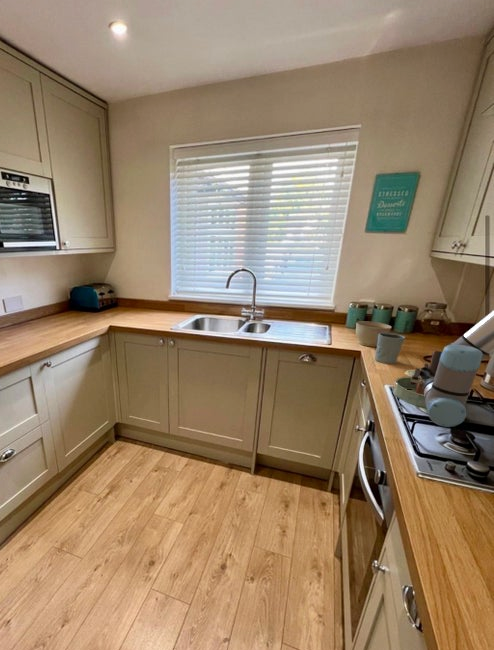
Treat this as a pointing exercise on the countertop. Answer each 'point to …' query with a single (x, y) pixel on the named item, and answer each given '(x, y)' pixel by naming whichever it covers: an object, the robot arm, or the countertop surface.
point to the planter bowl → (370, 332)
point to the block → (419, 389)
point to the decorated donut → (409, 373)
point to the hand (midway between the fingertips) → (432, 368)
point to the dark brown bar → (434, 363)
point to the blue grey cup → (388, 347)
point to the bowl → (408, 392)
